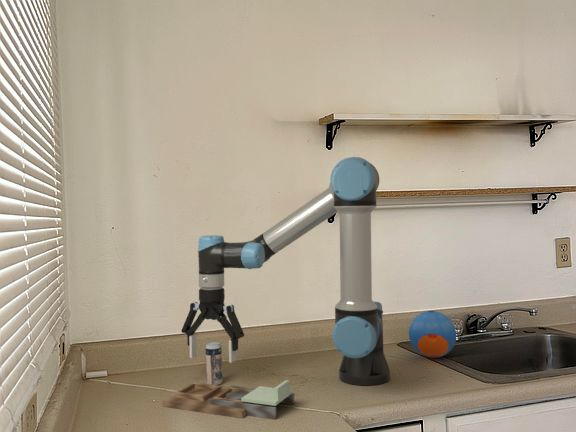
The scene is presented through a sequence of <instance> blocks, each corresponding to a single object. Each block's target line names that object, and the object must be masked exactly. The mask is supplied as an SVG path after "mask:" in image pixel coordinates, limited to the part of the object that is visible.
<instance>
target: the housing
mask: <svg viewBox="0 0 576 432" xmlns="http://www.w3.org/2000/svg"><path fill="white" fill-rule="evenodd" d="M254 389H256V388H254V387H247V386H237V385H229V386H226V385H210V384H207V383H201V382H192V383H189V384H188V385H186V386H185V387H183V388H181V389H179V390H177V391H174V393H173V394H172V395H171V396H169V397H167V398H165V399H163V400H162V407H164V408H170V409H177V410H185V411H191V412H197V413H204V414H210V413H211V415H217V416H225V417H232V418H239V419H243V418H244V417H246V416H249V417H250V416H251V417H256V418H261V419H262V418H263V419H270V420H276V419H277V407H276V406H271V405H264V404H258V403H250V402H243V401H241V398H242V397H244V396H245V395H247V394H248V393H250V392H251V391H253V390H254ZM280 403H281V404H287V405H295V393H294V392H292V394H290V395H289V396H288V397H286V398H285V399H284V400H283V401H281V402H280ZM280 403H279V404H280Z"/></svg>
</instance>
